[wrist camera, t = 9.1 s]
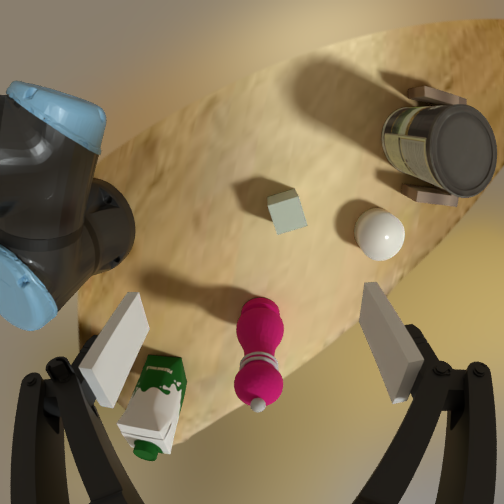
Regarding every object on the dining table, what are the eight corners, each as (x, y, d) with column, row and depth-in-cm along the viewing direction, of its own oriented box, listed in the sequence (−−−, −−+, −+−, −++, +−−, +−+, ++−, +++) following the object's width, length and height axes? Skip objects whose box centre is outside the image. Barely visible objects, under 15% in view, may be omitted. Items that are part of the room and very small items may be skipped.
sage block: (275, 223, 43) (277, 234, 38) (267, 197, 41) (267, 206, 37) (302, 214, 42) (307, 225, 37) (294, 188, 41) (298, 196, 36)
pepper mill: (231, 319, 50) (215, 415, 31) (251, 287, 47) (244, 383, 29) (268, 336, 51) (268, 432, 32) (290, 306, 48) (302, 403, 30)
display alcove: (401, 193, 40) (417, 202, 35) (408, 88, 34) (425, 85, 29) (440, 198, 40) (458, 207, 35) (448, 99, 33) (467, 99, 28)
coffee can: (384, 98, 35) (436, 90, 22) (442, 117, 35) (502, 122, 22) (375, 167, 39) (422, 187, 26) (432, 181, 39) (488, 206, 26)
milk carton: (152, 380, 57) (125, 456, 39) (143, 350, 54) (107, 429, 35) (192, 384, 57) (172, 465, 38) (185, 353, 53) (159, 440, 35)
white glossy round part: (350, 250, 44) (357, 260, 41) (356, 206, 41) (364, 212, 38) (391, 251, 44) (399, 261, 41) (398, 209, 41) (408, 215, 38)
